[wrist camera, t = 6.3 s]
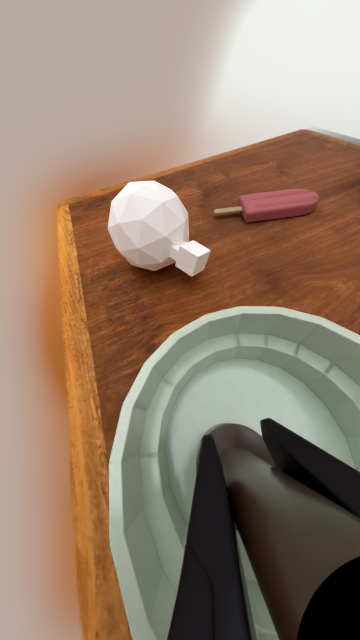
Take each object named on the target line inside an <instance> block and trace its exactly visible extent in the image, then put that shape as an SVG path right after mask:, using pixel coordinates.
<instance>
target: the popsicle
mask: <svg viewBox="0 0 360 640" xmlns="http://www.w3.org/2000/svg"><path fill="white" fill-rule="evenodd" d="M318 202H319V195H318V194H317V193H315V192H313V191H311V190H307V189H290V190H281V191H272V192H264V193H256V194H249V195H241V196H239V200H238V207H230V208H223V209H216V210H214V214H215V215H222V214H229V213H237V212H241V214H242V216H243V218H244V220H245V222H246V223H249V222H256V221H264V220H272V219H279V218H286V217H293V216H300V215H306V214H308V213H311V212H312V211H313V210H314V209H315V208H316V206H317V204H318Z"/></svg>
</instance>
